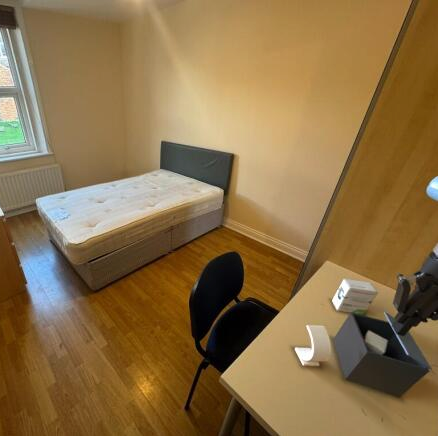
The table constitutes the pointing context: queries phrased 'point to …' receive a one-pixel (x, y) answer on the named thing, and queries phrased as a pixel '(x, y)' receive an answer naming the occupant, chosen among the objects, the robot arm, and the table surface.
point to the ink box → (354, 296)
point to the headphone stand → (315, 347)
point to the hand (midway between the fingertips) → (397, 330)
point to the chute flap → (409, 344)
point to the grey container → (376, 357)
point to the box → (375, 343)
